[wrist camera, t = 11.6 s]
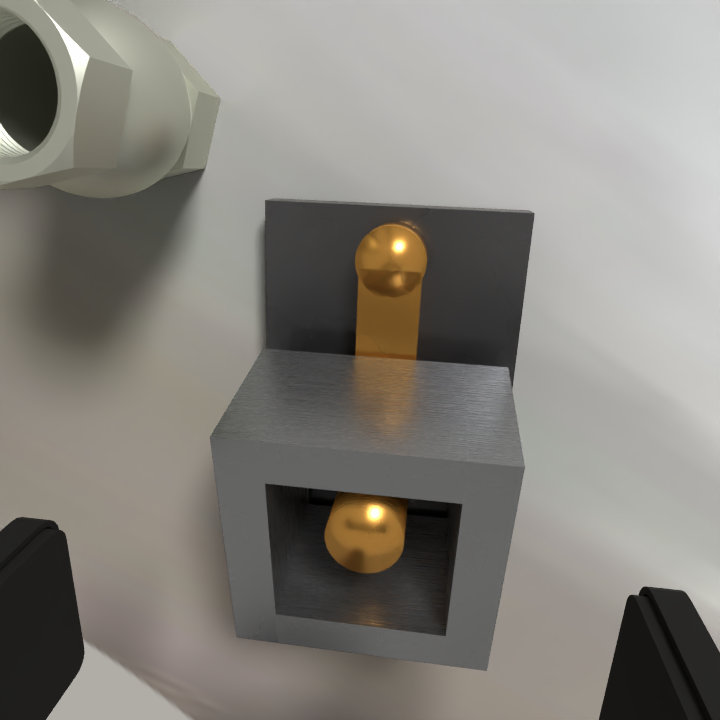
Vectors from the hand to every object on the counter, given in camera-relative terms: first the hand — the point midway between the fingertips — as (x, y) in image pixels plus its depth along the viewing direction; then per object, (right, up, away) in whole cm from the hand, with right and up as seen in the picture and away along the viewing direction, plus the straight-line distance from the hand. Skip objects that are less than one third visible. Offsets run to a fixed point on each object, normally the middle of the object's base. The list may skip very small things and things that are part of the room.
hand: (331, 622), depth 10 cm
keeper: (+1, +3, +8) cm, 9 cm away
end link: (+1, +2, +7) cm, 7 cm away
